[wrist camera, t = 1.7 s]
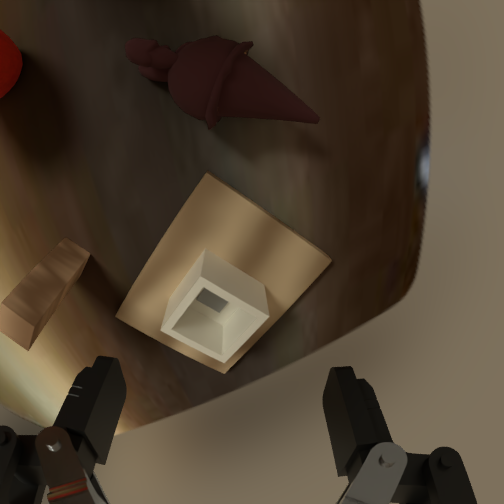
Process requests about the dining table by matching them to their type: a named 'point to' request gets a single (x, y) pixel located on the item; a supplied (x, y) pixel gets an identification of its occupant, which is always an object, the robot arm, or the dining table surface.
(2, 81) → the apple
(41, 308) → the square wooden post
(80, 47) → the dining table surface
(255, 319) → the white square box
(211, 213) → the wooden board
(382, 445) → the robot arm
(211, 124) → the icecream
